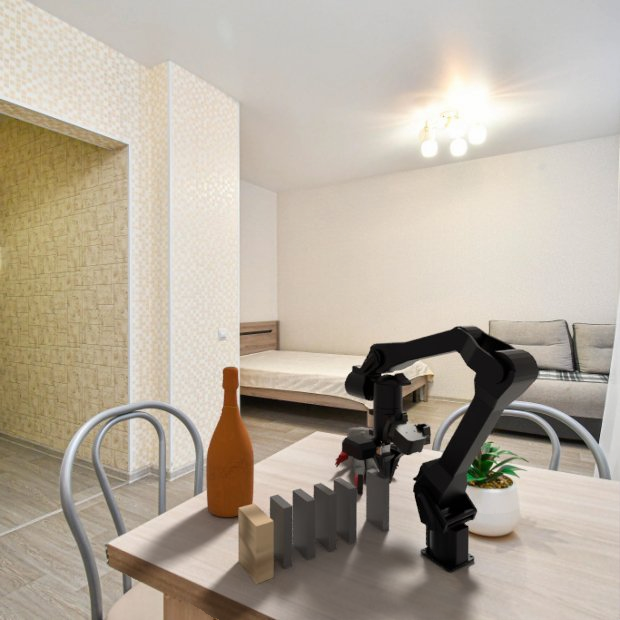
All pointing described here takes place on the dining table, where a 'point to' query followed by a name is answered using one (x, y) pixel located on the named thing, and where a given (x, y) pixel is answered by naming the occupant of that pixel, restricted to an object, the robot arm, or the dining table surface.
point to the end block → (256, 542)
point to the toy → (359, 464)
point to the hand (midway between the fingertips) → (387, 483)
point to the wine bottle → (229, 456)
